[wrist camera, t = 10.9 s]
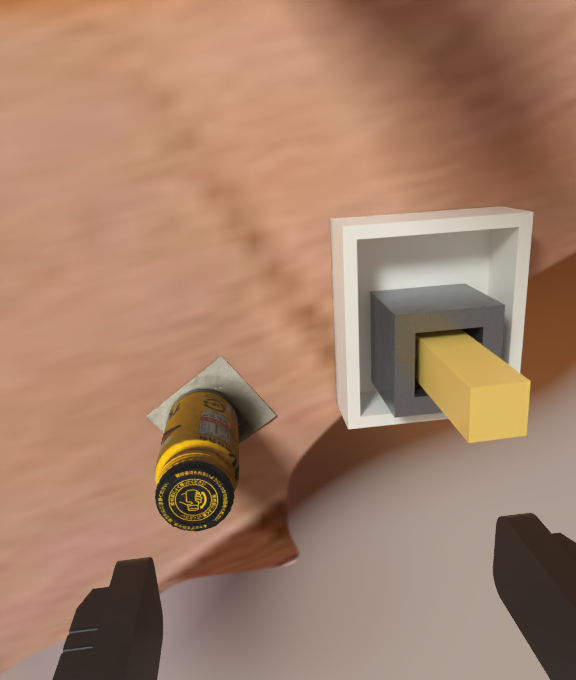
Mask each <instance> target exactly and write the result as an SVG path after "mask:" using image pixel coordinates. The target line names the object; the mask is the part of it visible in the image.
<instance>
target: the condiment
mask: <svg viewBox="0 0 576 680" xmlns="http://www.w3.org/2000/svg"><path fill="white" fill-rule="evenodd" d="M214 387H217V389H214ZM219 387H222V389H219ZM275 416H276V415H275V414H274V413H273V411H272V410H271V409H270V408H269V407H268V406H267V405H266V404H265V402H264V401H263V400H262V399H261V398H260V397H259V396H258V395H257V394H256V392H255V391H254V390H253V389H252V388H251V387H250V386H249V385H248V384H247V383H246V381H245V380H244V379H243V378H242V377H241V376H240V375H239V374H238V373H237V372H236V371H235V370H234V369H233V368H232V367H231V366H230V365H229V364H228V362H227V361H226V360H225V359H224V358H223V357H222V356H221V357H219V358H218V359H217V360H216V361H215V362H213V363H212V364H211V365H209V366H208V367H207V368H206V369H205V370H204V371H202V372H201V373H200V374H199V375H197V376H196V377H195V378H194V379H192V380H191V381H190V382H188V383H187V384H186V385H185V386H183V387H182V388H181V389H179V390H178V391H177V392H176V393H174V394H173V395H172V396H171V397H169V398H168V399H167V400H166V401H164V402H163V403H162V404H161V405H160V406H159V407H157V408H156V409H155V410H153V411H152V412H151V413H150V414H149V415H148V416H147V418H148V419H149V420H150V421H151V422H152V423H153V424H155V425H156V426H157V427H158V428H159V429H160V430H161V431H162V432H163V433H164V434H163V439H162V442H161V447H160V452H159V456H158V460H157V464H156V469H155V482H156V486H157V489H156V493H155V494H156V496H155V499H156V505H157V508H158V511H159V513H160V514H161V516H162V517H163V518H164V519H165V520H166V521H167V522H168V523H169V524H171V525H172V526H173V527H177V528H179V529H182V530H188V531H201V530H205V529H208V528H212V527H214V526H216V525H217V524H219V523H220V522H221V521H222V520H223V519H224V518H225V517H226V516H227V515H228V513H229V512H230V511H231V506H232V505H233V500H234V491H235V489H236V487H237V484H238V480H239V444H240V443H241V442H242V441H244V440H245V439H247V438H248V437H249V436H250V435H251V434H253V433H254V432H255V431H256V430H258V429H259V428H260V427H262V426H263V425H265V424H266V423H268V422H269V421H270V420H271V419H273V418H274V417H275ZM239 425H241V426H239Z"/></svg>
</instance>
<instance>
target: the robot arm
mask: <svg viewBox="0 0 576 680" xmlns="http://www.w3.org/2000/svg"><path fill="white" fill-rule="evenodd" d="M493 576H494V581H495V586H496V589H497V591H498V594H499V596H500V598H501V600H502V601H503V603H504V605H505V606H506V608H507V609H508V611H509V613H510V614H511V616H512V618H513V619H514V621H515V622H516V624H517V626H518V627H519V629H520V631H521V632H522V634H523V636H524V637H525V639H526V640H527V642H528V644H529V645H530V647H531V649H532V650H533V652H534V654H535V655H536V657H537V658H538V660H539V662H540V663H541V665H542V667H543V668H544V670H545V671H546V673H547V674H548V676H549V678H550V680H576V543H575V542H574V541H572V540H570V539H569V538H567V537H566V536H564V535H563V534H561V533H554V534H551V533H550V531H549V530H548V529H547V528H546V527H545V526H544V524H543V523H542V522H541V521H540V520H539V519H538V517H537V516H536V515H534V514H532V513H526V514H517V515H509V516H501V517H499V518H498V520H497V524H496V534H495V549H494V561H493ZM162 639H163V615H162V607H161V601H160V595H159V590H158V584H157V578H156V573H155V567H154V562H153V559H152V558H151V557H148V558H140V559H131V560H123V561H118V562H117V563H116V565H115V569H114V572H113V576H112V579H111V583H110V586H109V587H105V588H97V589H92V591H91V592H90V593H89V594H88V596H87V597H86V598H85V599H84V600H83V602H82V603H81V604H80V605H79V607H78V608H77V609H76V612H75V615H74V618H73V621H72V624H71V627H70V630H69V635H68V636H67V639H66V642H65V645H64V648H63V653H62V654H61V656H60V659H59V662H58V665H57V668H56V671H55V674H54V677H53V680H157V676H158V669H159V662H160V655H161V647H162Z"/></svg>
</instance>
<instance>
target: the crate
mask: <svg viewBox="0 0 576 680" xmlns="http://www.w3.org/2000/svg"><path fill="white" fill-rule="evenodd" d="M532 224H533V212H531V211H526V210H520V209H514V208H509V207H503V206H496V207H482V208H469V209H456V210H442V211H429V212H415V213H402V214H389V215H375V216H362V217H349V218H335V219H330V229H331V256H332V284H333V312H334V339H335V367H336V395H337V404H338V407H339V409H340V411H341V413H342V416H343V418H344V420H345V423H346V425H347V427H348V429H356V428H365V427H375V426H385V425H394V424H404V423H413V422H422V421H432V420H442V419H448V418H447V417H446V415H445V414H444V413H435V414H425V415H415V416H406V417H396V418H394V416H393V415H392V413H391V411H390V410H389V408H388V407H387V405H386V403H385V402H384V400H383V399H382V397H381V396H380V394H379V392H378V391H377V389H376V388H375V386H374V384H373V383H372V381H371V310H370V291H381V290H392V289H404V288H416V287H428V286H439V285H451V284H463V283H465V284H467V285H469V286H471V287H473V288H475V289H476V290H478V291H480V292H482V293H484V294H486V295H488V296H490V297H491V298H493V299H495V300H497V301H499V302H501V303H503V304H504V305H505V313H504V328H503V342H502V356H501V359H502V360H503V361H504V362H506V363H507V364H508V365H510V366H511V367H512V368H514V369H515V370H516V371H518V372H519V373H520V369H521V357H522V345H523V332H524V321H525V308H526V297H527V285H528V272H529V260H530V248H531V236H532Z"/></svg>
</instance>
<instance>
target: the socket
mask: <svg viewBox="0 0 576 680" xmlns="http://www.w3.org/2000/svg"><path fill="white" fill-rule="evenodd" d="M370 310H371V381H372V383H373V384H374V386H375V388H376V389H377V391H378V392H379V394H380V396H381V397H382V399H383V400H384V402H385V403H386V405H387V407H388V408H389V410H390V411H391V413H392V415H393V416H394V418H396V417H406V416H415V415H425V414H435V413H443V412H442V411H441V409H440V408H439V407H438V406H437V405H436V403H435V402H434V401H433V400H432V399H431V397H430V396H429V395H428V394H427V393H426V391H425V390H424V389H423V388H422V387H421V385H420V384H419V383H418V382H417V381H416V380H415V333H422V332H433V331H444V330H455V329H461V330H463V331H464V332H465V333H467V334H468V335H469V336H471V337H472V338H473V339H475V340H476V341H477V342H479V343H480V344H481V345H483V346H484V347H485V348H487V349H488V350H490V351H491V352H492V353H494V354H495V355H496V356H498V357H499V358H500V359H501V356H502V342H503V328H504V313H505V305H504V304H503V303H501V302H499V301H497V300H495V299H493V298H491V297H490V296H488V295H486V294H484V293H482V292H480V291H478V290H476V289H475V288H473V287H471V286H469V285H467V284H465V283H463V284H451V285H439V286H428V287H416V288H404V289H392V290H381V291H370Z"/></svg>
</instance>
